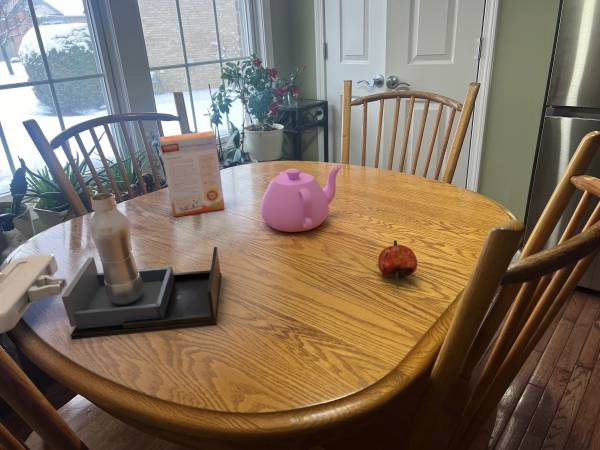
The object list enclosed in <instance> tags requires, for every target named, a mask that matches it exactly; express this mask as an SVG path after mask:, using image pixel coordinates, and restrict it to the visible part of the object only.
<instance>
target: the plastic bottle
mask: <svg viewBox="0 0 600 450" xmlns="http://www.w3.org/2000/svg"><path fill="white" fill-rule="evenodd" d="M90 202H91V209H92V211H94V212H93V215H92V216H91V219H90V220H89V223H88V231H89V234H90V236H91V239H92V241H93V243H94V245H95V247H96V249H97V250H96V251H97V253H98V256H99V258H100V262H101V266H102V273H104V279H105V280H104V283H105V292H106V295H107V297H108V299H109V300H110V301H111V302H113V303H114V304H117V305H125V304H130V303H132V302H135V301H136V300H138V299H139V298H140V297H141V295H142V293H143V281H142V278H141V276H140V274H139V272H138V270H139V269H138V267H137V264H136V261H135V258H134V254H133V247H132V242H131V240H132V239H131V226H130V221H129V219H128V218H127V216H126V215H125V214H124V213H123V212H122V211H121V210H119V209H118V208H117V206H118V203H117V201H116V198H115V194H114V193H112V192H102V193H97V194H94V195H92V196H91V197H90Z"/></svg>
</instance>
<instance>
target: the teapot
mask: <svg viewBox="0 0 600 450" xmlns="http://www.w3.org/2000/svg"><path fill="white" fill-rule="evenodd" d="M343 167H344V164H339V165H336V166H334V167H333V168H331V169H330V171H329V173H328V176H327V183H326V185H325V187H324V188H322V185H320V183H319V182H318V180H317V179H316V178H315V177H314V176H313V175H312V174H310V173H306V172H301V170H300V169H299V168H289V169H287V170H282V171H280V172H278V175H276V176H274V177H273V179H272V180H271V181H270V182H269V185H268V187H267V188H266V190H265V192H264V194H263V197H262V200H261V204H260V205H261V206H260V215H261V218H262V220H263V221H264V222H265V223H266V224H268V226H269V227H271V228H272V229H275V230H277V231H281V232H288V233H295V232H296V233H297V232H298V233H299V232H305V231H309V230H313V229H316V228H317V227H319V226H320V225H322V223H323V222H325V220H326V219H327V218H328V215H329V213H330V207H329V205H330V204H331V203H332V202H333V200H334V198H335V195H336V191H337V190H336V189H337V187H336V185H337V184H336V181H337V180H336V179H337V175H338V173H339V171H340V170H341V169H342V168H343Z"/></svg>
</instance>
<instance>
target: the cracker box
mask: <svg viewBox="0 0 600 450" xmlns="http://www.w3.org/2000/svg"><path fill="white" fill-rule="evenodd" d="M216 138H217V137H216V134H215V133H214V131H213V130H209V131H202V132H201V131H200V132H193V133H192V132H191V133H183V134H174V135H166V136H159V145H160V150H161V155H162V161H163V167H164V172H165V173H164V174H165V178H166V179H165V180H166V184H167V191H168V193H169V194H168V195H169V201H170V205H171V211H172V215H173V218H176V217H182V216H189V215H194V214H195V215H196V214H201V213H207V212H213V211H220V210H224V209H225V199H224V192H223V185H222V177H221V170H220V169H221V168H220V161H219V156H218V155H219V154H218V146H217V139H216Z"/></svg>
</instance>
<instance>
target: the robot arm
mask: <svg viewBox="0 0 600 450" xmlns="http://www.w3.org/2000/svg"><path fill="white" fill-rule="evenodd" d="M58 270H59V266H58V263H57V259H56V256H55V255H53V254H52V253H42V254H34V255H28V256H27V255H26V256H22V257H18V258H15V259H12V260H11V261H10V262H9V263H8V264H7V265H4V266H3V268H2V270H0V334H4V333H7V332H9V331H10V330H13V329H14V328H15V326H16V325H17V324H18V322H20V320H21V318H22V317H23V316H24V315H25V313H27V311H28V310H29V308H30V307H31V306H32V305H33V303H34V302H39V301H41V300H44V299H46V298H50V297H51V296H59V295H61V294H62V293H63V291H64V290H65V288H66V286H67V285H68V283H67V279H66V278H65V277H54V275H55V274H57V271H58Z"/></svg>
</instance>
